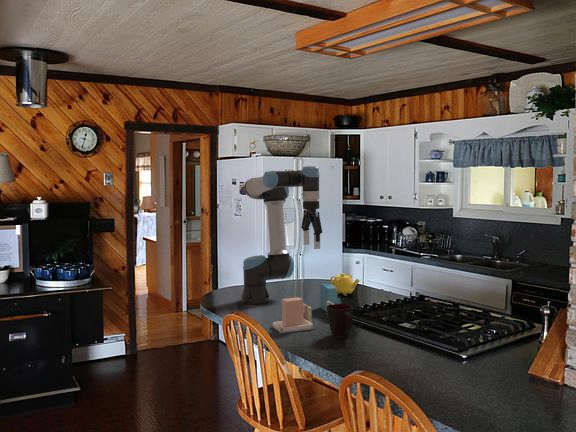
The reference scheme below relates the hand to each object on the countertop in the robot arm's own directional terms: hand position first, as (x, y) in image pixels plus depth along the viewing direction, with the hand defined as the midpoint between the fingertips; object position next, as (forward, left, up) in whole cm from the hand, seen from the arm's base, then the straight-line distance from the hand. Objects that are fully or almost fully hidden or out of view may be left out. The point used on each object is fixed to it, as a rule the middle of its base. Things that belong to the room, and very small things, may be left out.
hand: (311, 246), depth 262 cm
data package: (-9, +12, -33) cm, 37 cm away
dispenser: (+5, +1, -33) cm, 33 cm away
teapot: (-38, +35, -33) cm, 62 cm away
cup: (+33, -1, -33) cm, 47 cm away
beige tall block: (+13, -15, -32) cm, 38 cm away
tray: (+13, -15, -33) cm, 38 cm away
